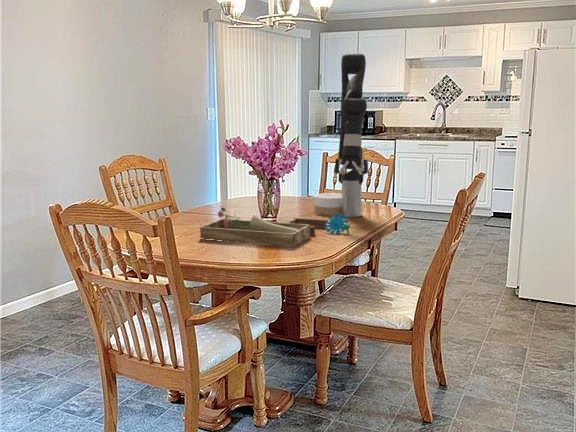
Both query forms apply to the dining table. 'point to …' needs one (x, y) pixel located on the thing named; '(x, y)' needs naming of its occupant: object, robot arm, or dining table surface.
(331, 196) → the bowl
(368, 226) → the dining table surface
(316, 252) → the dining table surface
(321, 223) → the cradle
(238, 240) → the wooden tray
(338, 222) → the gear
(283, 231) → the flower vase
